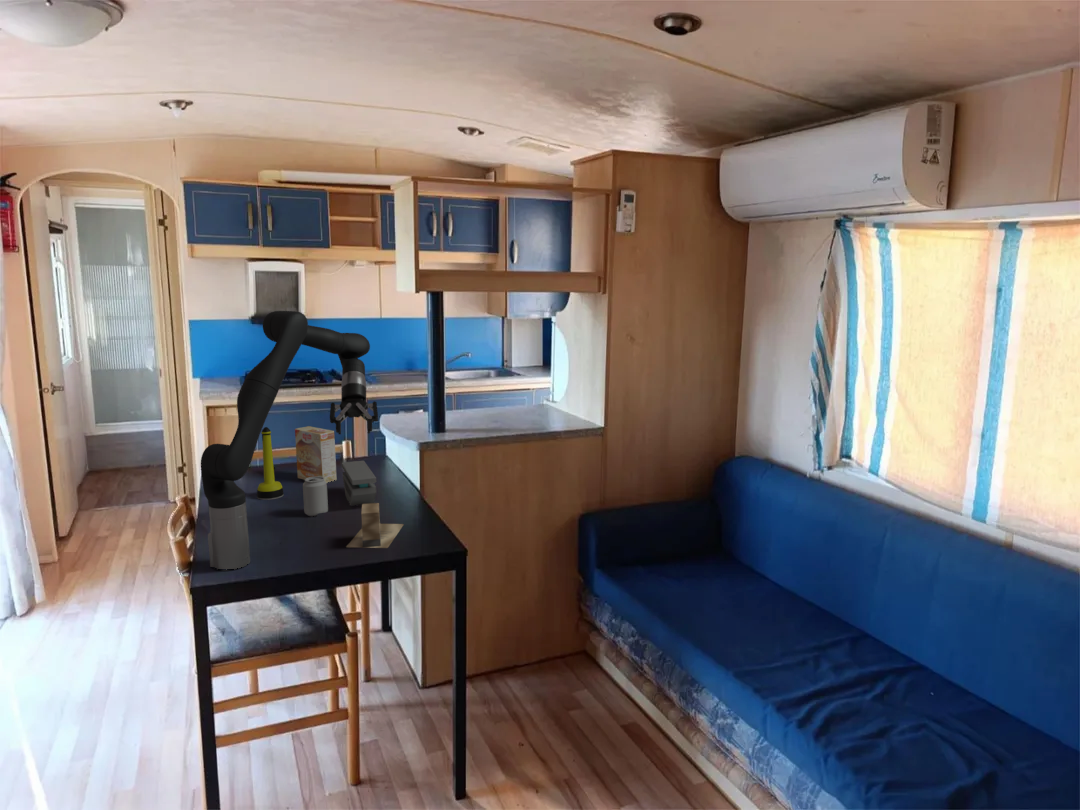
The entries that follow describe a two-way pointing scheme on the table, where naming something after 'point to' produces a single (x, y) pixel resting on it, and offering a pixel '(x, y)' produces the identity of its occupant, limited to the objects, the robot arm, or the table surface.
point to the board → (387, 536)
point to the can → (315, 496)
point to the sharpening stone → (359, 483)
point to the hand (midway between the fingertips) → (354, 432)
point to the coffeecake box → (315, 453)
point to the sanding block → (371, 525)
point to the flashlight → (268, 471)
